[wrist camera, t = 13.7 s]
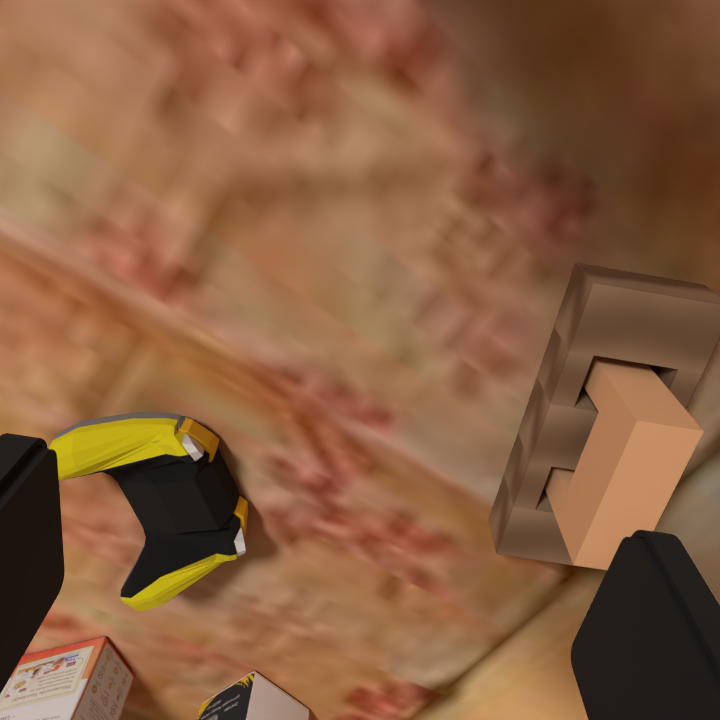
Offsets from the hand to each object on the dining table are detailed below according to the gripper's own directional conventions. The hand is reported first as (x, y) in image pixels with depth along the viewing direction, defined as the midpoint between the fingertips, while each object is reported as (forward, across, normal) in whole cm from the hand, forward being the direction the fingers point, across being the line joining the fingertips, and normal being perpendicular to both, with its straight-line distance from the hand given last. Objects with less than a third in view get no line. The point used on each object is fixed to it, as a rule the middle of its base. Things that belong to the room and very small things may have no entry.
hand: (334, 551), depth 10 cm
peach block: (+28, -17, +12) cm, 35 cm away
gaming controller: (+29, +10, +23) cm, 38 cm away
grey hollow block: (+28, -17, +12) cm, 35 cm away
